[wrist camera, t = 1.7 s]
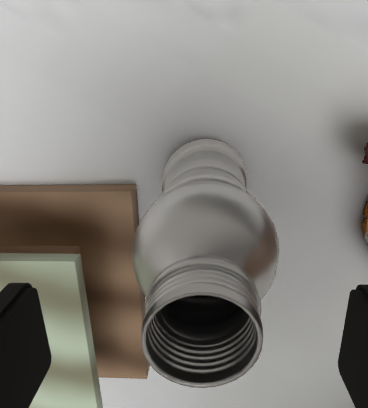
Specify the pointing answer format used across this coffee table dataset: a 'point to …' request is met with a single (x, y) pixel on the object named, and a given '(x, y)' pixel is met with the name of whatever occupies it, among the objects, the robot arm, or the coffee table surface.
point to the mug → (367, 223)
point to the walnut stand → (77, 282)
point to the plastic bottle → (204, 268)
